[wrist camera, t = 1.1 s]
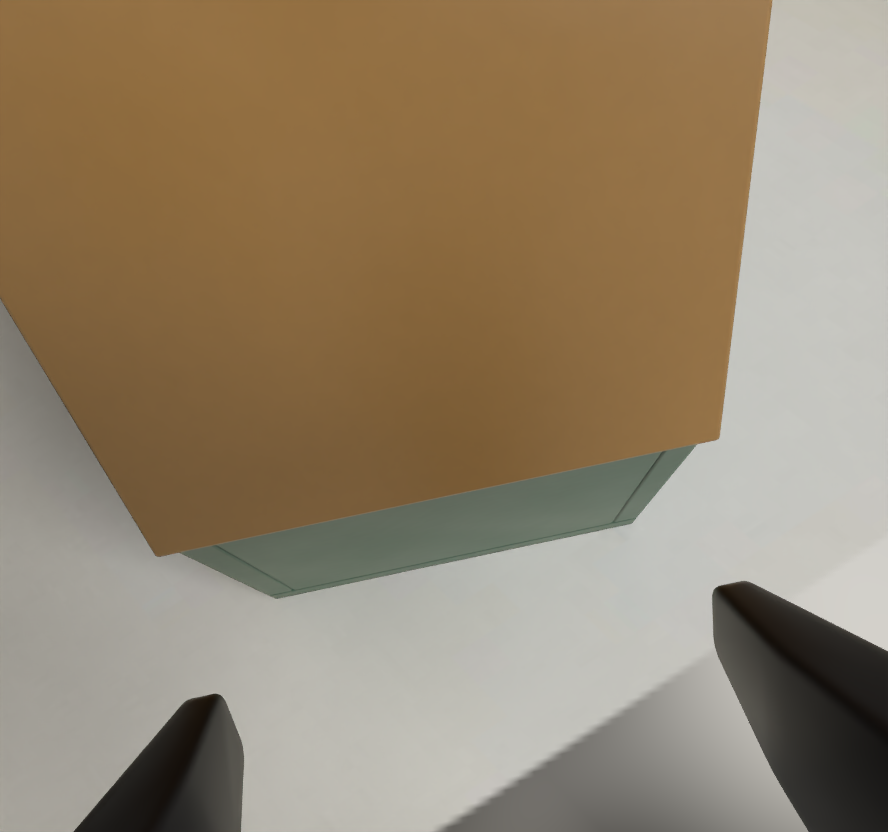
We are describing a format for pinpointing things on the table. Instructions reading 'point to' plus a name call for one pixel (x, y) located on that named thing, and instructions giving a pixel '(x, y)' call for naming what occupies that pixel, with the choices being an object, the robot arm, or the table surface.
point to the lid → (373, 241)
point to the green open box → (445, 527)
